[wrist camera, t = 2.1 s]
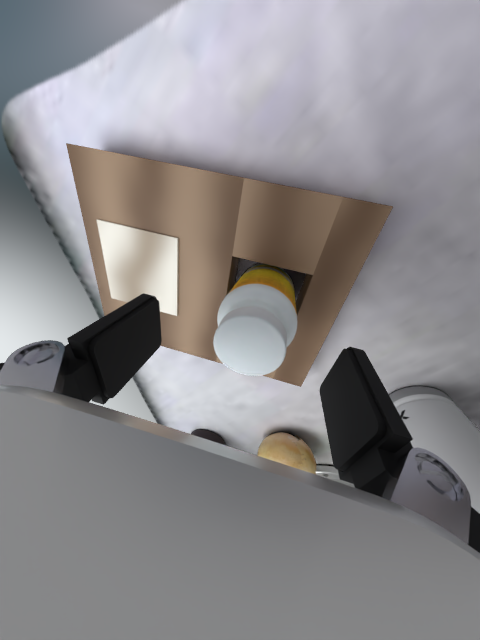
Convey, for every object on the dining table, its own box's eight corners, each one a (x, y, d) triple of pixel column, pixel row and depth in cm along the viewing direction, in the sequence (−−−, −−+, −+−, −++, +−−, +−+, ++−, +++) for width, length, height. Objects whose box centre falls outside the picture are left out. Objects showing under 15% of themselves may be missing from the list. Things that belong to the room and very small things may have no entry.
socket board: (373, 208, 14) (394, 206, 11) (299, 366, 22) (300, 388, 19) (102, 154, 16) (63, 142, 13) (126, 317, 24) (106, 330, 21)
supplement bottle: (292, 315, 19) (296, 391, 11) (240, 313, 20) (208, 381, 12) (296, 260, 17) (305, 306, 8) (236, 262, 18) (193, 303, 9)
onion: (291, 418, 27) (292, 478, 21) (324, 449, 28) (334, 513, 22) (250, 432, 30) (240, 487, 24) (281, 459, 32) (280, 516, 26)
